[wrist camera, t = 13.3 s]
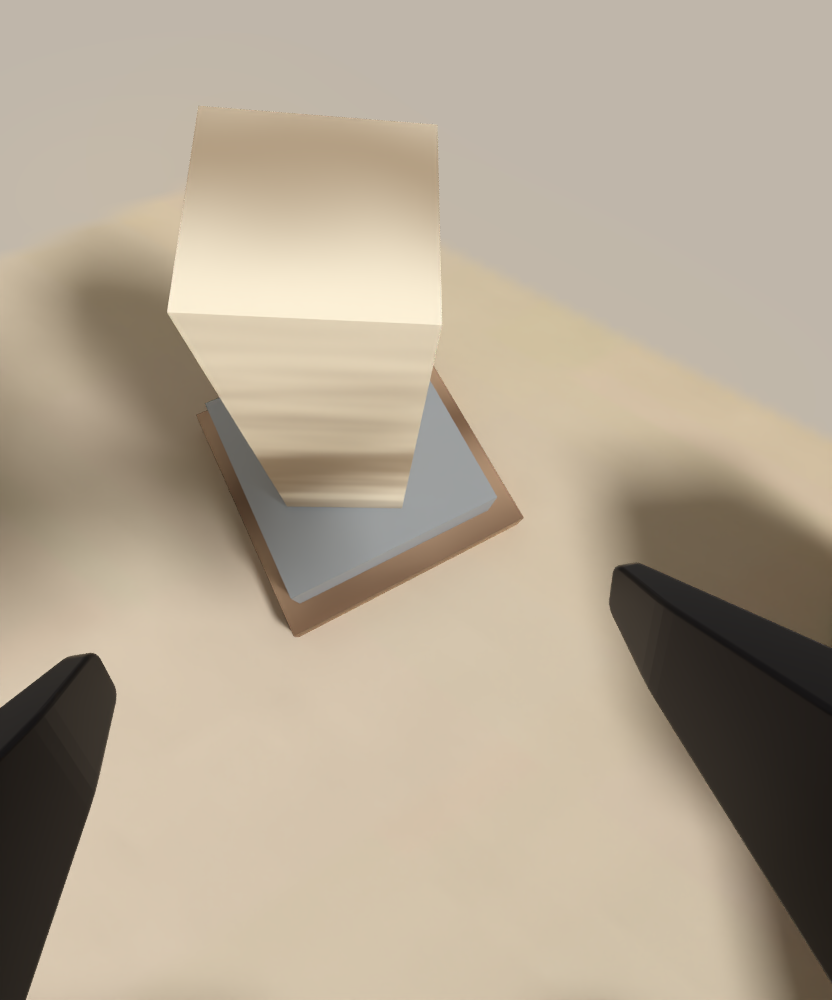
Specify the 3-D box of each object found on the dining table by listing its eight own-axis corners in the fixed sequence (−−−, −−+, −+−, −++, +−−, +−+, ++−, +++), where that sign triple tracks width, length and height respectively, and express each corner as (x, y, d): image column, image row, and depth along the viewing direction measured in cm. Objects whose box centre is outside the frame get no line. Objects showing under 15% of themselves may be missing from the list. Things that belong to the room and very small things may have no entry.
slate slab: (488, 510, 22) (497, 497, 20) (300, 603, 21) (290, 598, 19) (397, 350, 24) (398, 325, 22) (220, 423, 23) (204, 403, 21)
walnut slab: (513, 528, 24) (523, 517, 22) (302, 637, 22) (293, 636, 20) (408, 348, 27) (409, 325, 25) (211, 432, 25) (196, 415, 23)
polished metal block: (401, 508, 20) (442, 324, 8) (287, 506, 20) (166, 312, 8) (402, 405, 21) (437, 124, 10) (294, 402, 21) (198, 105, 9)
